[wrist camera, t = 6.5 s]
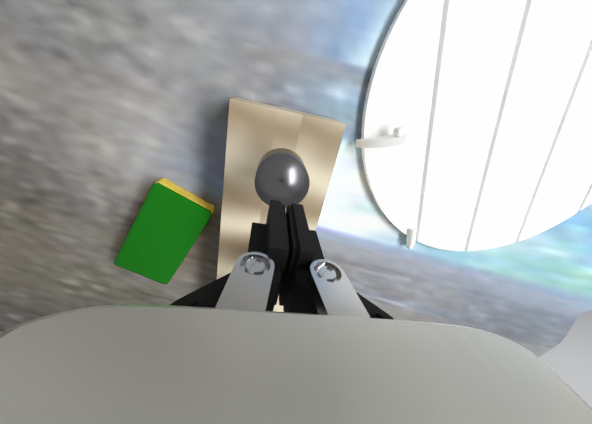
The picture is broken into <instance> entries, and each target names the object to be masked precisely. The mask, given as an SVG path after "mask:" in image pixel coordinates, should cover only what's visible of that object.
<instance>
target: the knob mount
mask: <svg viewBox="0 0 592 424" xmlns="http://www.w3.org/2000/svg"><path fill="white" fill-rule="evenodd" d="M345 126H346V124H344V123H342V122H340V121H338V120H335V119H331V118H327V117H322V116H318V115H313V114H309V113H304V112H300V111H296V110H291V109H287V108H282V107H278V106H273V105H269V104H264V103H260V102H256V101H251V100H247V99H242V98H238V97H234V98H230V101H229V115H228V129H227V142H226V156H225V170H224V184H223V198H222V211H221V225H220V239H219V253H218V267H217V279H219V278H221V277H223V276H225V275H227V274H229V273H231V271H232V269H233V267H234V265H235V262H236V260H237V259H238V258H239V256H241V255H242V254H245V253H248V246H249V240H250V233H251V227H252V222H254V223H262V224H266V221H267V215H268V210H269V205H267V204H265V203H264V202H263V201H262V200H261V199H260V198H259V196H258V195H257V193H256V190H255V184H254V182H255V176H256V171H257V167H258V164H259V161H260V159H261V158H262V157H263V156H264V155H265V154H266V153H267V152H269V151H270V150H273V149H277V148H286V149H289V150H292V151H294V152H295V153H297V154H298V155H299V156H300V158H301V159H302V161H303V163H304V165H305V168H306V170H307V173H308V175H309V181H310V184H309V190H308V193H307V195H306V196H305V198H304V199H303V200H302V201H301V202H300V203H298V204H302V205H303V208H304V212H305V215H306V219H307V223H308V227H309V230H316V226H317V223H318V219H319V216H320V212H321V209H322V206H323V202H324V199H325V195H326V192H327V188H328V185H329V181H330V178H331V175H332V171H333V168H334V164H335V161H336V157H337V154H338V150H339V147H340V144H341V140H342V137H343V133H344V130H345ZM286 209H287V208H285V212H286ZM273 311H275V312H284V310H283V306H280V305H279V295H278V299H277V303H276V305H274V309H273Z"/></svg>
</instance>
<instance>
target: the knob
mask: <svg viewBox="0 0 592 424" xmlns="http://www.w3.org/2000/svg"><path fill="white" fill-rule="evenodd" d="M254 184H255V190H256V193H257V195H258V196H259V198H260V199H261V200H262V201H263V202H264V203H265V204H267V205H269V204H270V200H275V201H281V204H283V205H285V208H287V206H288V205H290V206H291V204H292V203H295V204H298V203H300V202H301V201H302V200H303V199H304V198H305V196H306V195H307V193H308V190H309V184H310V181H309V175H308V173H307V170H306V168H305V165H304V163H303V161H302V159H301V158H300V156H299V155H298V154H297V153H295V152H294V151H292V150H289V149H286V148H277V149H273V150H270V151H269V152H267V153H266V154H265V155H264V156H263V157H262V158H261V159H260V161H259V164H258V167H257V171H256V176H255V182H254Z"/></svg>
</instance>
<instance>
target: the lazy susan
mask: <svg viewBox="0 0 592 424" xmlns="http://www.w3.org/2000/svg"><path fill="white" fill-rule="evenodd" d="M356 147H359V148H361V150H362V160H363V166H364V171H365V176H366V179H367V183H368V186H369V188H370V191H371V193H372V195H373V197H374V199H375V201H376V203H377V205H378V206H379V208H380V209H381V211H382V212H383V213H384V215H385V216H386V217H387V218H388V219H389V221H390V222H391V223H392V224H393V225H394V226H395V227H396V228H397V229H399V230H400V231H401V232H402V233H404V234H405V235H407V241H406V244H407V246H406V247H407V248H408V249H412V248H413V245H415V239H416V240H417V241H418V242H420V243H422V244H424V245H427V246H430V247H434V248H438V249H443V250H450V251H464V249H465V250H466V251H478V250H486V249H492V248H497V247H501V246H505V245H509V244H512V243H515V241H521V240H524V239H527V238H529V237H532V236H534V235H537V234H539V233H541V232H543V231H545V230H548V229H550V228H552V227H554V226H555V225H557V224H559V223H561V222H563V221H564V220H566V219H568V218H570V217H571V216H573V215H574V214H576V213H577V211H578V210H580V211H581V210H582V209H584V208H585V207H587V206H588V205H590V204H591V203H592V0H404V2H403V4H402V6H401V7H400V9H399V11H398V13H397V14H396V16H395V18H394V20H393V22H392V24H391V26H390V28H389V30H388V32H387V34H386V37H385V39H384V41H383V44H382V46H381V48H380V51H379V53H378V56H377V59H376V61H375V64H374V67H373V70H372V74H371V77H370V81H369V84H368V88H367V93H366V97H365V103H364V108H363V116H362V127H361V139H357V140H356Z"/></svg>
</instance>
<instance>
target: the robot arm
mask: <svg viewBox="0 0 592 424" xmlns="http://www.w3.org/2000/svg"><path fill="white" fill-rule="evenodd" d="M278 295H279V305H280V306H283V310H284V312H275V311H273V309H274V305H276V303H277V299H278ZM0 424H592V408H591V407H590V406H589V405H588V404H587V403H586V402H585V401H584V400H583V399H582V398H581V397H580V396H579V395H578V394H577V393H576V392H575V391H574V390H573V389H572V388H571V387H569V386H568V385H567V384H566V383H565V382H564V381H563V380H562V379H561V378H560V377H559V376H558V375H557V374H556V373H555V372H554V371H553V370H552V369H550V368H549V367H548V366H547V365H546V364H545V363H544V362H543V361H542V360H540V359H539V358H538V357H537V356H536V355H535V354H533V353H532V352H531V351H529V350H528V349H526V348H524V347H522V346H521V345H519V344H517V343H515V342H513V341H511V340H508V339H506V338H503V337H501V336H498V335H496V334H493V333H490V332H487V331H483V330H480V329H476V328H471V327H466V326H460V325H451V324H442V323H432V322H419V321H406V320H394V319H393V318H392V317H391V316H390V315H388V314H387V313H386V312H384V311H383V310H381V309H380V308H378V307H377V306H375V305H374V304H373V303H371V302H370V301H368V300H367V299H365V298H364V297H362V296H361V295H360V294H358V293H357V292H356V291H355V290H354V288H353V286H352V284H351V283H350V281H349V279H348V277H347V276H346V274H345V272H344V271H343V269H342V268H341V267H340V266H339V265H337V264H336V263H334V262H332V261H329V260H324V257H323V253H322V250H321V247H320V243H319V240H318V237H317V233H316V231H315V230H309V227H308V223H307V219H306V215H305V212H304V208H303V205H302V204H295V203H292V204H291V206H290V205H288V206H287V209H286V212H285V205H283V204H281V201H275V200H270V204H269V210H268V215H267V221H266V224H262V223H254V222H252V227H251V233H250V240H249V246H248V253H245V254H242V255H241V256H239V258H238V259H237V260H236V262H235V265H234V267H233V269H232V271H231V273H229V274H227V275H225V276H223V277H221V278H219V279H217V280H215V281H213V282H211V283H209V284H207V285H205V286H203V287H201V288H200V289H198V290H196V291H194V292H192V293H190V294H188V295H186V296H184V297H182V298H180V299H178V300H177V301H175V302H174V303H172V304H171V305H140V304H121V305H103V306H94V307H85V308H78V309H74V310H69V311H64V312H59V313H54V314H50V315H47V316H43V317H39V318H36V319H33V320H30V321H27V322H24V323H21V324H19V325H17V326H14V327H12V328H10V329H7V330H5V331H3V332H2V333H0Z"/></svg>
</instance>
